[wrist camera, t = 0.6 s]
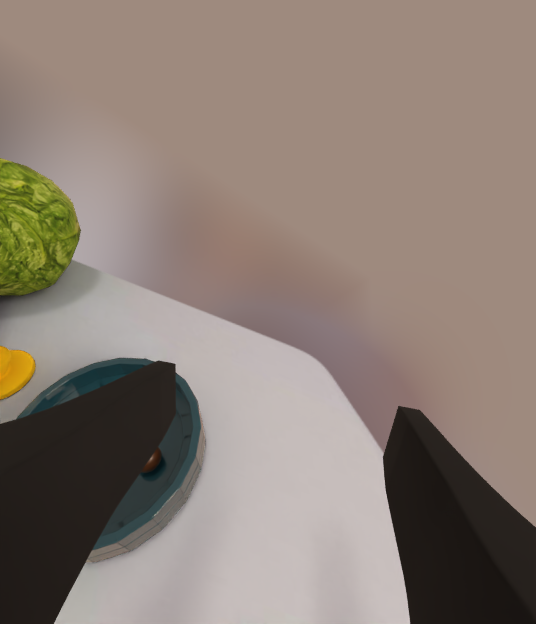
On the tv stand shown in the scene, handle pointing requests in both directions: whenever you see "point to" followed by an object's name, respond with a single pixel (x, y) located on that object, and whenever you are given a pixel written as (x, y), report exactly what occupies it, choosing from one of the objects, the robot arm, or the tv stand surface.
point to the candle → (14, 370)
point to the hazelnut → (153, 461)
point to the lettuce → (33, 230)
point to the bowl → (148, 486)
